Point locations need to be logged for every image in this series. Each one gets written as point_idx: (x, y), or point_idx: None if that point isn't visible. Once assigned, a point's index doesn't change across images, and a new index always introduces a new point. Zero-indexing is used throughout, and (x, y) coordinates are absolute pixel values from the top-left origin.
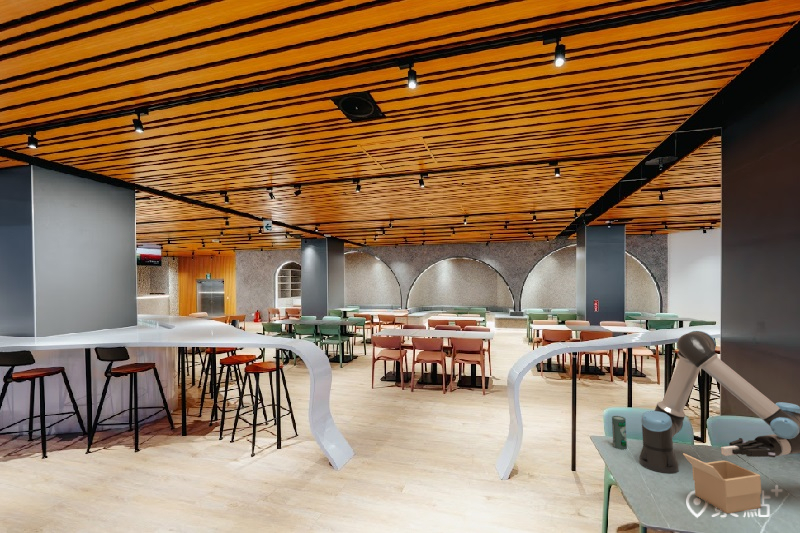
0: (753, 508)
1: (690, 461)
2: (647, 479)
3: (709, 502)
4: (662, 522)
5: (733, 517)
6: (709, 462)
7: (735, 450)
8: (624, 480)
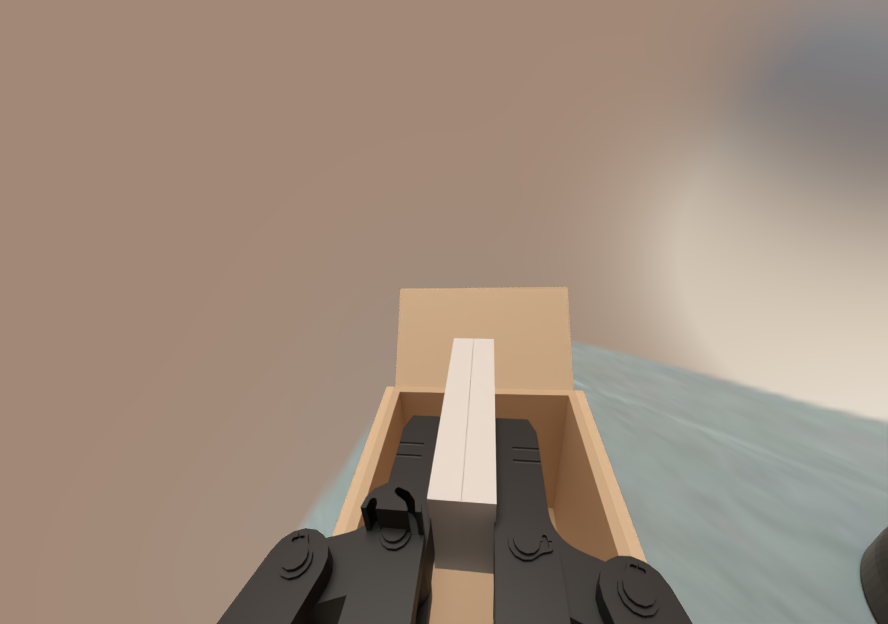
0: None
1: (554, 340)
2: (711, 442)
3: None
4: None
5: None
6: (627, 516)
7: (411, 422)
8: (677, 375)
